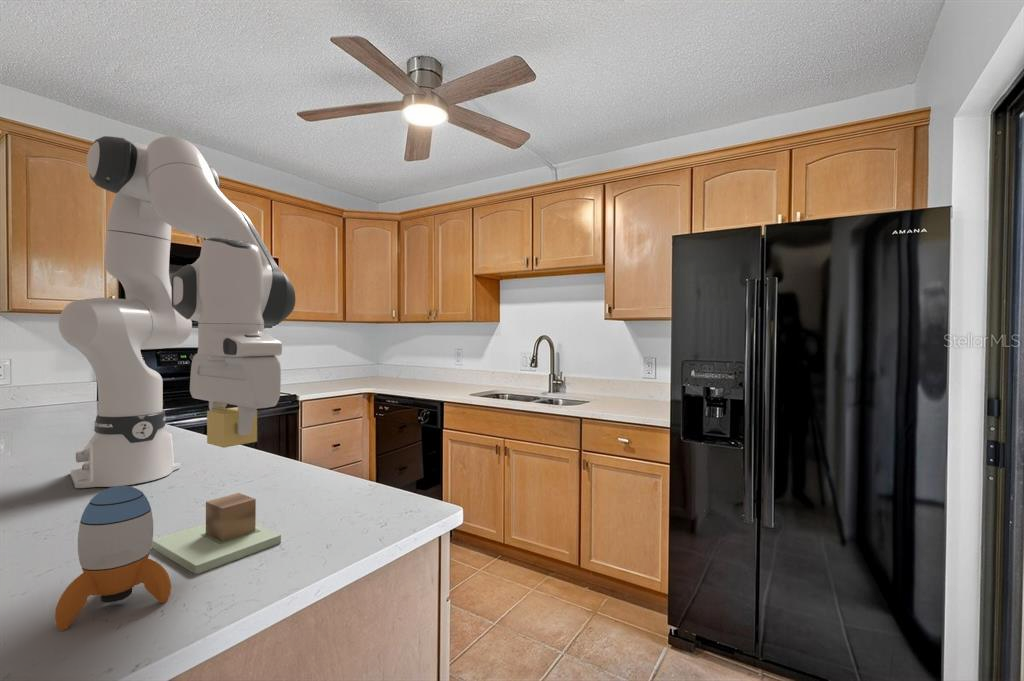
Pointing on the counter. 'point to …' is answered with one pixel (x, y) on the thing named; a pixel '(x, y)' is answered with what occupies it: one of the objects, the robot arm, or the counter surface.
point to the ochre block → (227, 428)
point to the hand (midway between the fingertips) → (232, 432)
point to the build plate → (211, 547)
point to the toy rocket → (113, 553)
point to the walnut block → (230, 516)
